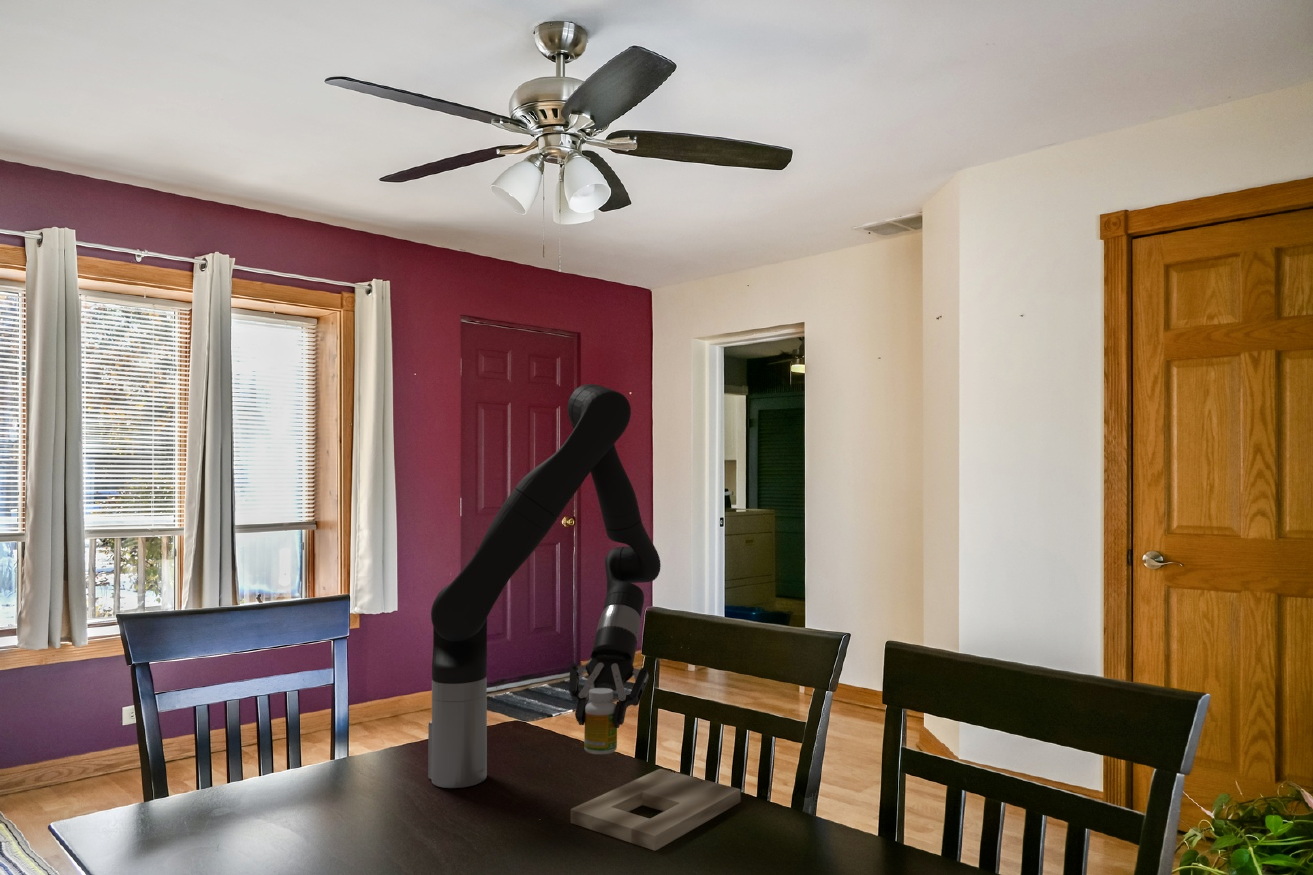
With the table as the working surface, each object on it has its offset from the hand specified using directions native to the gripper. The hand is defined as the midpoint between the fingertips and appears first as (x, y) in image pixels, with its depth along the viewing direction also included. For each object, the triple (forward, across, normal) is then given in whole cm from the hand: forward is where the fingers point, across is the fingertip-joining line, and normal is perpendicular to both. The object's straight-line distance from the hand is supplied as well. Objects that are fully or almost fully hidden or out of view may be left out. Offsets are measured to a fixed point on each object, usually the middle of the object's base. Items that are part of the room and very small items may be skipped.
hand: (598, 723), depth 140 cm
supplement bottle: (+2, 0, +5) cm, 5 cm away
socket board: (+12, +11, +4) cm, 17 cm away
